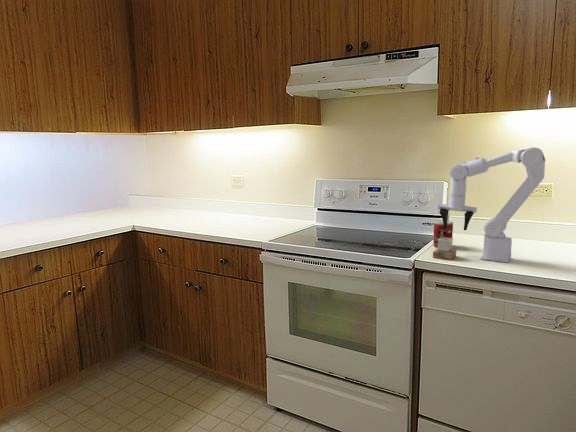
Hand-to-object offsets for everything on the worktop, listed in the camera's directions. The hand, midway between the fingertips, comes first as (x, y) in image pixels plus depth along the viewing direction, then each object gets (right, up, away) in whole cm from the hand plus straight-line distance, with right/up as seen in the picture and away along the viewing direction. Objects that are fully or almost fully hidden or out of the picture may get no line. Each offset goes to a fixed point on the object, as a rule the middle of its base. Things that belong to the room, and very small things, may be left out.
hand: (455, 228), depth 168 cm
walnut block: (-5, -11, -3) cm, 13 cm away
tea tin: (-5, -9, -3) cm, 11 cm away
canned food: (0, -8, +14) cm, 16 cm away
